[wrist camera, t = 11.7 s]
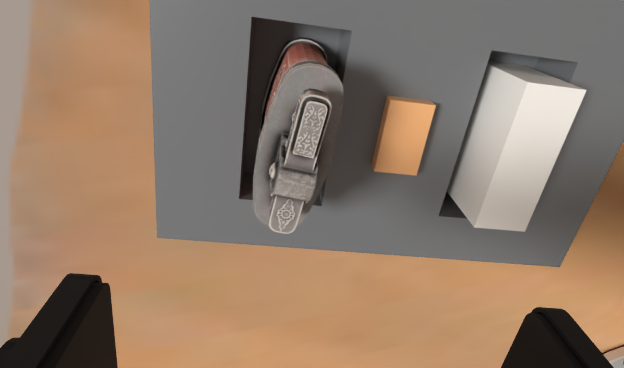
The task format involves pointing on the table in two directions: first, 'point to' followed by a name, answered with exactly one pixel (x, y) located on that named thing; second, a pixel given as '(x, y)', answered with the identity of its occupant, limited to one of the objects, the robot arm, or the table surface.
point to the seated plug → (511, 144)
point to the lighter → (296, 135)
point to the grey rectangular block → (377, 118)
